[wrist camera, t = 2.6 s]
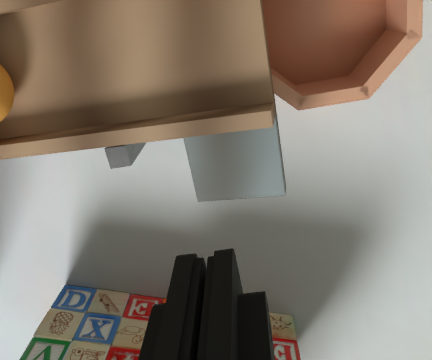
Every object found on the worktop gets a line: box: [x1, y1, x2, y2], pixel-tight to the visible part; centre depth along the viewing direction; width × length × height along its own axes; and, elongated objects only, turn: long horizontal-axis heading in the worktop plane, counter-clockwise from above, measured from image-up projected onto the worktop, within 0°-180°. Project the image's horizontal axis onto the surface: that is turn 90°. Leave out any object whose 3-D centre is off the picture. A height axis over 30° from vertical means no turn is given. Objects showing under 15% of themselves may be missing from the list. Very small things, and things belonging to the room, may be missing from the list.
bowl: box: [262, 0, 423, 110], centre depth 24 cm, size 10×10×4 cm
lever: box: [0, 0, 286, 202], centre depth 22 cm, size 18×12×4 cm
